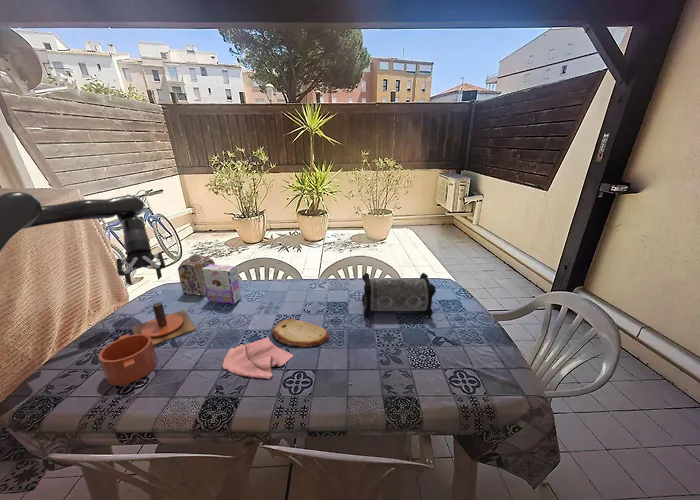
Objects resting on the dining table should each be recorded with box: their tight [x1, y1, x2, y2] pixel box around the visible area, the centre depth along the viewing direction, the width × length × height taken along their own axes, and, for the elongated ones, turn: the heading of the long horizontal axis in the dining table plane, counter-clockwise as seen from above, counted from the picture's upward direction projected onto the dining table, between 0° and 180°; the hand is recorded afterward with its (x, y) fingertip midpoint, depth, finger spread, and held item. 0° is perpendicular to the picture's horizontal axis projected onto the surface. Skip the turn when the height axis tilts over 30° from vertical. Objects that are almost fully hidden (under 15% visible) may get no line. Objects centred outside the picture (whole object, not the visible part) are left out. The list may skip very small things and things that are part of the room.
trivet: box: [131, 309, 197, 347], centre depth 104 cm, size 18×18×1 cm
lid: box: [141, 301, 183, 337], centre depth 102 cm, size 13×13×10 cm
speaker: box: [361, 272, 437, 319], centre depth 115 cm, size 15×29×15 cm, turn 91°
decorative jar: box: [177, 254, 216, 296], centre depth 131 cm, size 12×12×18 cm
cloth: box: [221, 336, 295, 380], centre depth 88 cm, size 20×22×2 cm
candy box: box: [202, 264, 242, 305], centre depth 122 cm, size 14×6×16 cm, turn 77°
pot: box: [98, 333, 158, 386], centre depth 83 cm, size 12×18×8 cm
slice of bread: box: [271, 318, 330, 348], centre depth 100 cm, size 18×18×4 cm
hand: (145, 281), depth 100 cm, fingers open, 8 cm apart
